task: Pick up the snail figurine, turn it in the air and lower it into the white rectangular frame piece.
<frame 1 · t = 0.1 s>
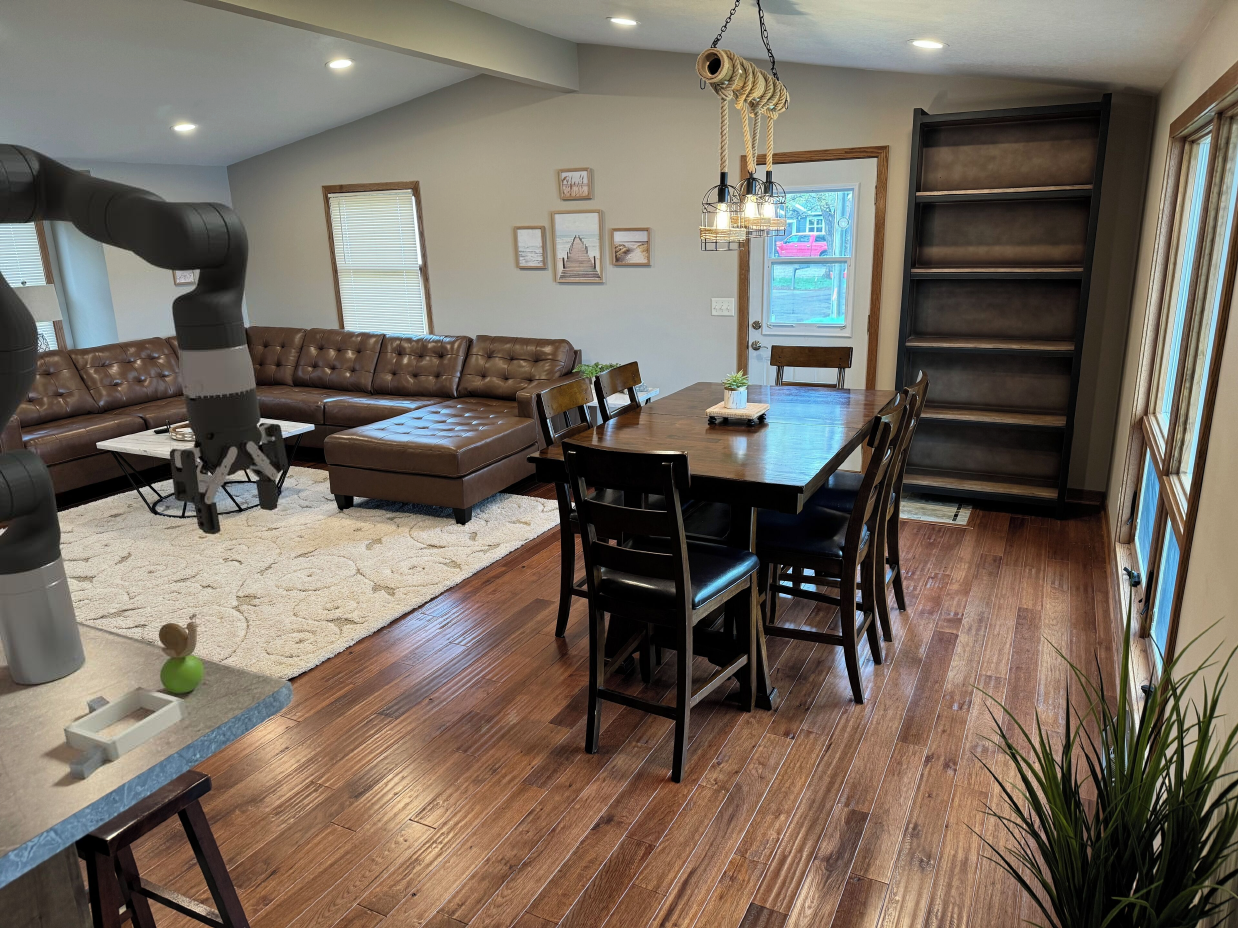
hand: (241, 520, 101), 29 cm above the breakfast bar, tool pointing down, fingers open, 8 cm apart
white rectangular frame piece: (128, 730, 111), on the breakfast bar
snail figurine: (188, 691, 120), on the breakfast bar
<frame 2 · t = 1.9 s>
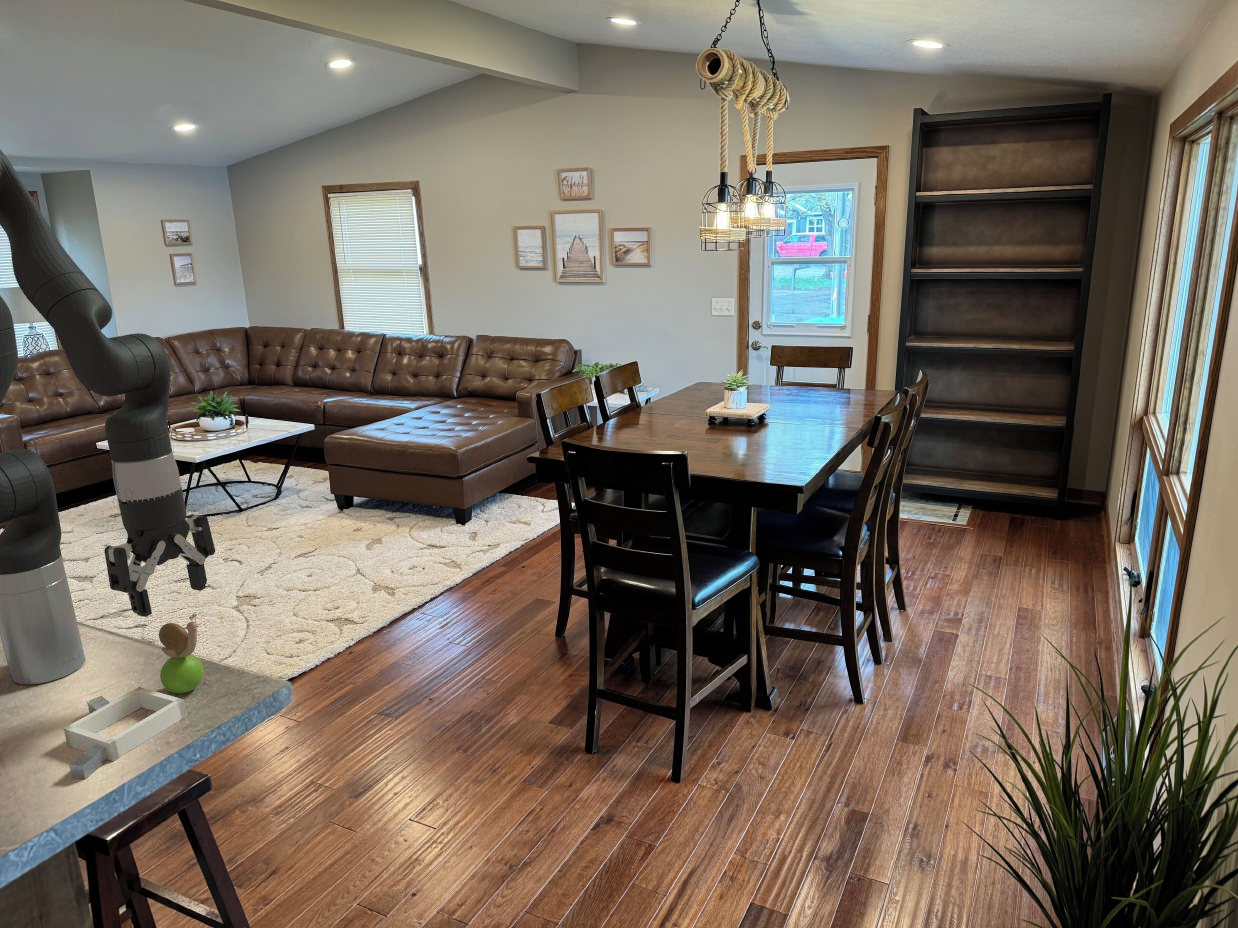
hand: (172, 601, 116), 14 cm above the breakfast bar, tool pointing down, fingers open, 8 cm apart
nothing on the breakfast bar moved.
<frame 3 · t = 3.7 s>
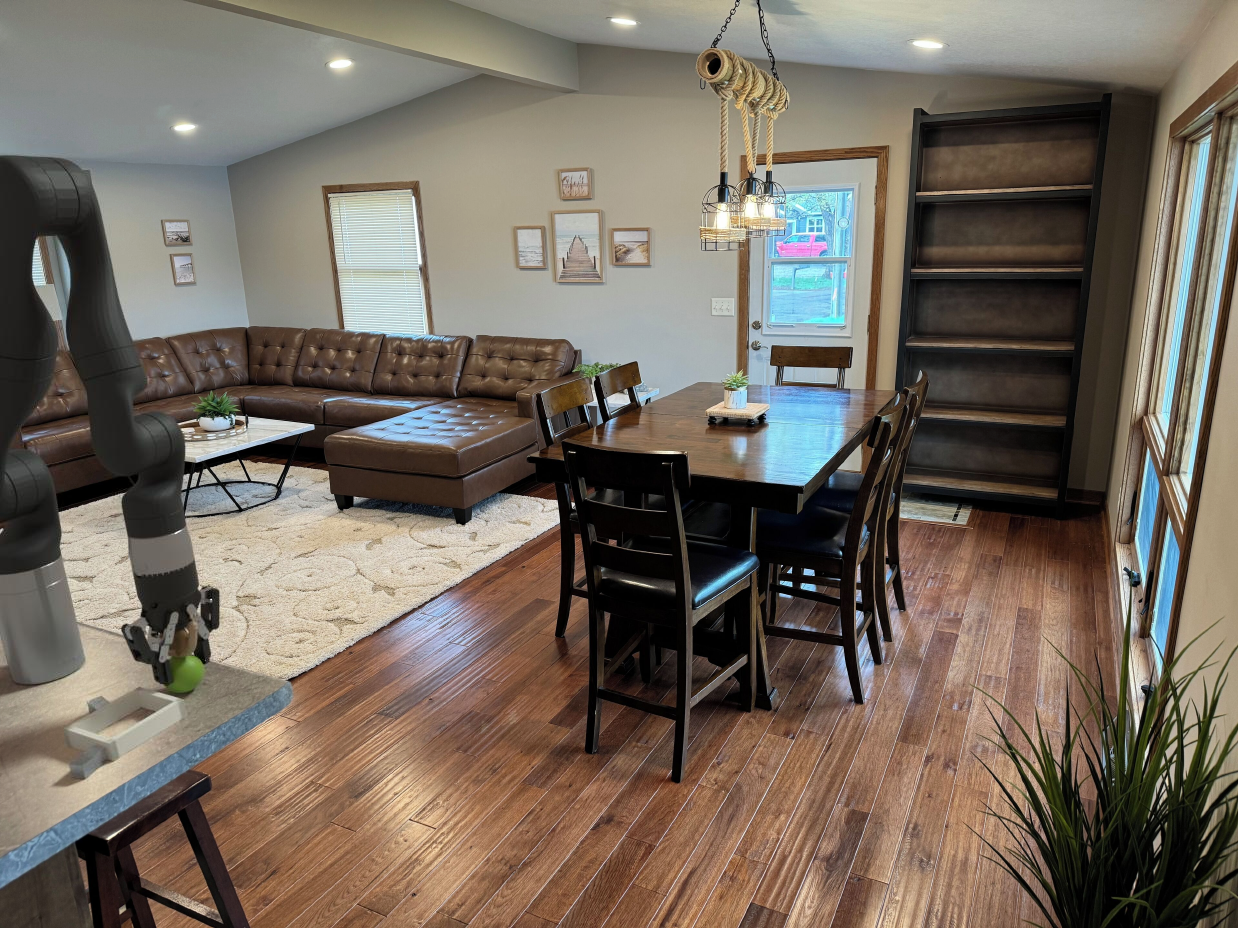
hand: (184, 672, 119), 3 cm above the breakfast bar, tool pointing down, fingers closed on snail figurine, 5 cm apart
snail figurine: (189, 691, 120), on the breakfast bar, touching gripper
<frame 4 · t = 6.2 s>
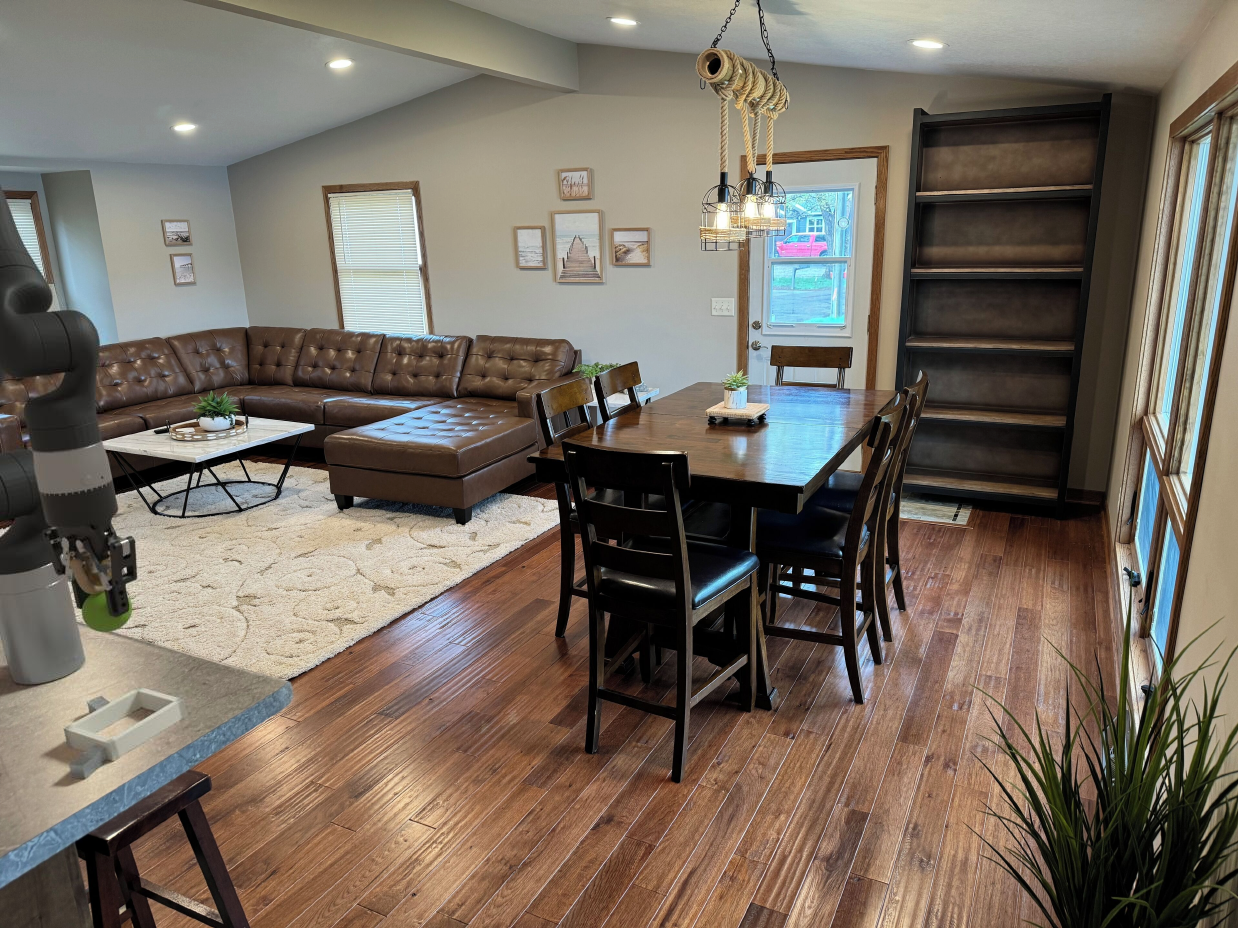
hand: (103, 609, 106), 17 cm above the breakfast bar, tool pointing down, fingers closed on snail figurine, 5 cm apart
snail figurine: (108, 632, 107), point 14 cm above the breakfast bar, touching gripper
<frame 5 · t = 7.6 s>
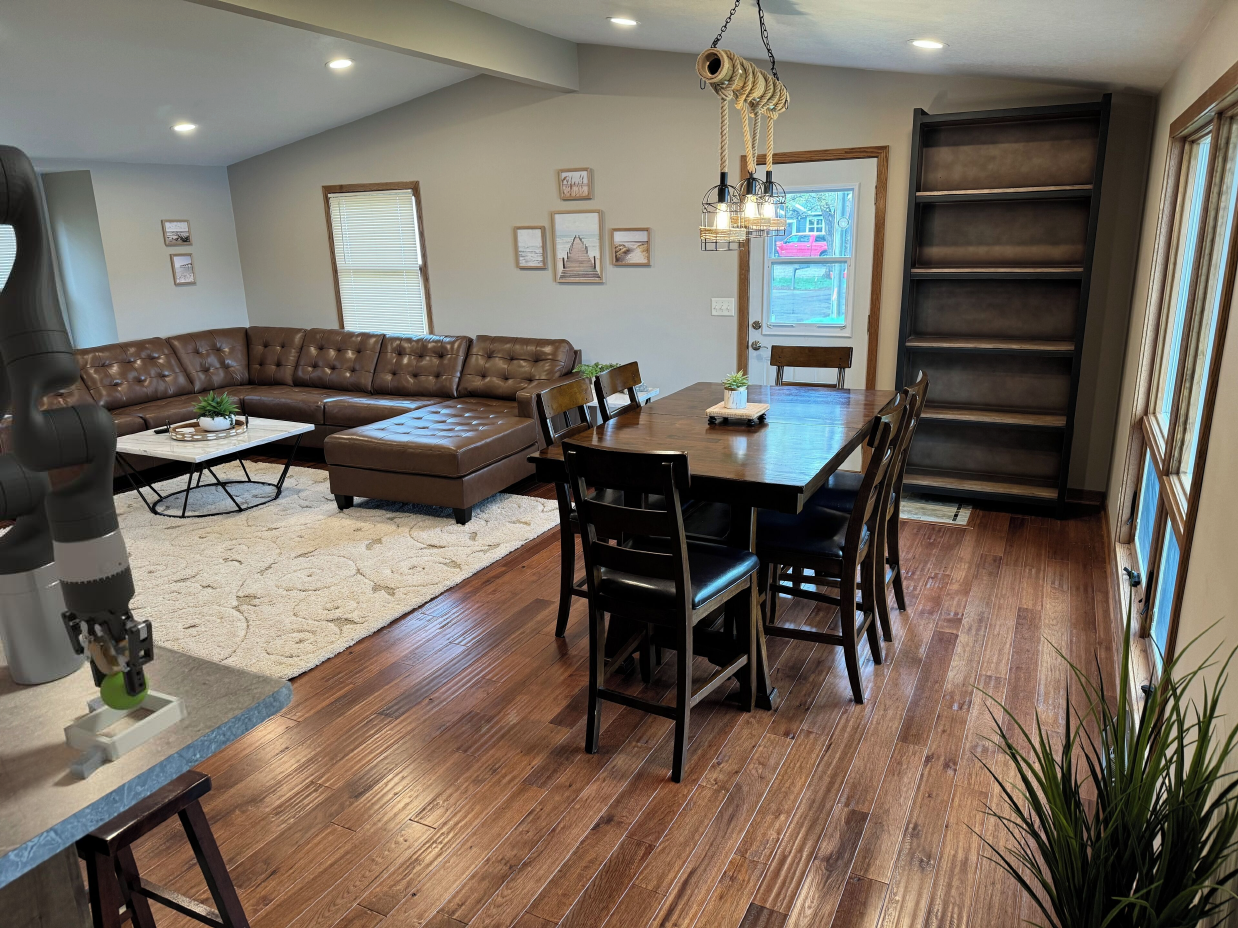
hand: (120, 688, 109), 6 cm above the breakfast bar, tool pointing down, fingers closed on snail figurine, 5 cm apart
snail figurine: (126, 710, 110), point 3 cm above the breakfast bar, touching gripper
when the fingers open (4 cm above the breakfast bar, at t = 8.8 s): snail figurine drops 1 cm, resting in white rectangular frame piece.
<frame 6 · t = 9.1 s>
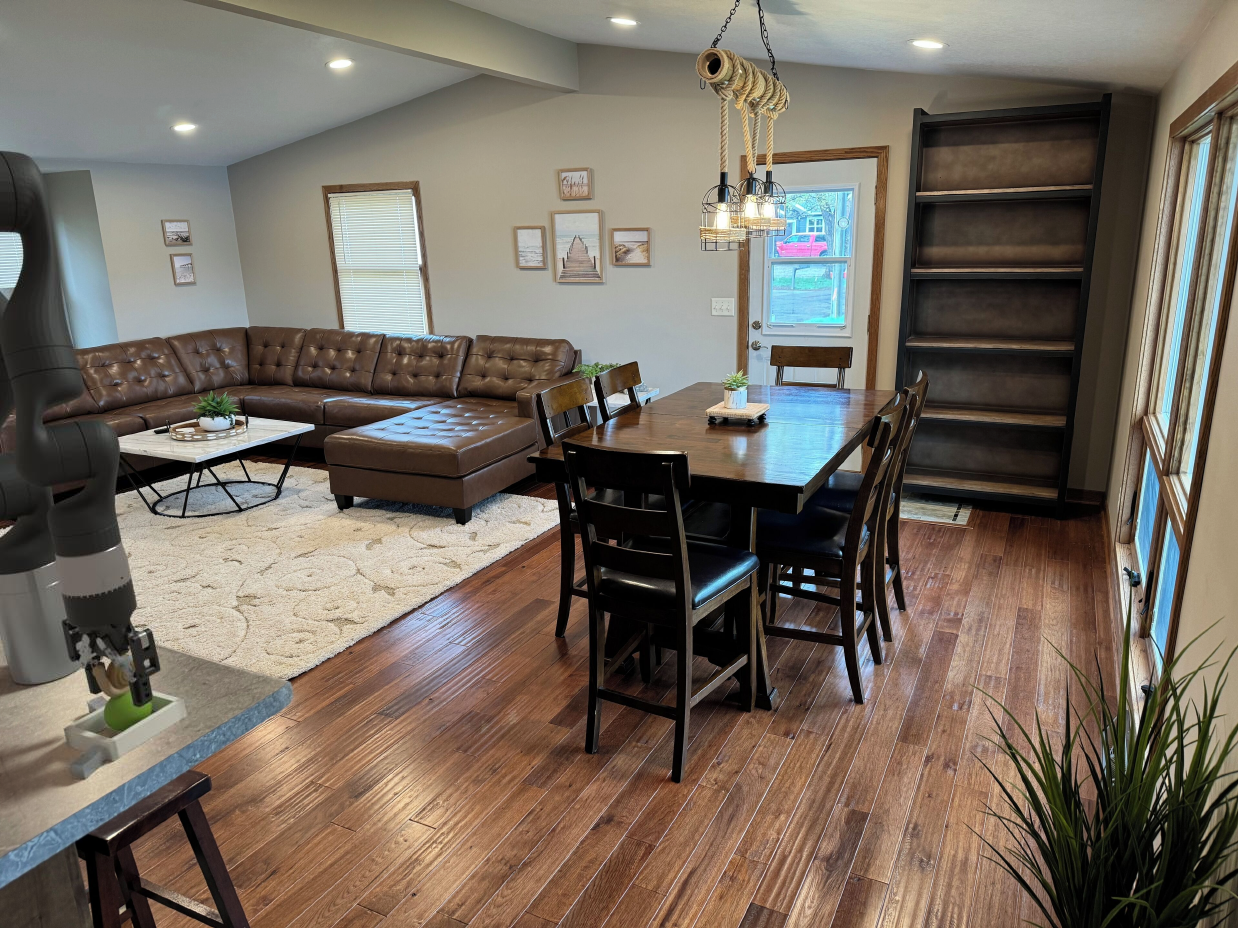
hand: (121, 697, 109), 5 cm above the breakfast bar, tool pointing down, fingers open, 8 cm apart
snail figurine: (129, 731, 111), resting in white rectangular frame piece
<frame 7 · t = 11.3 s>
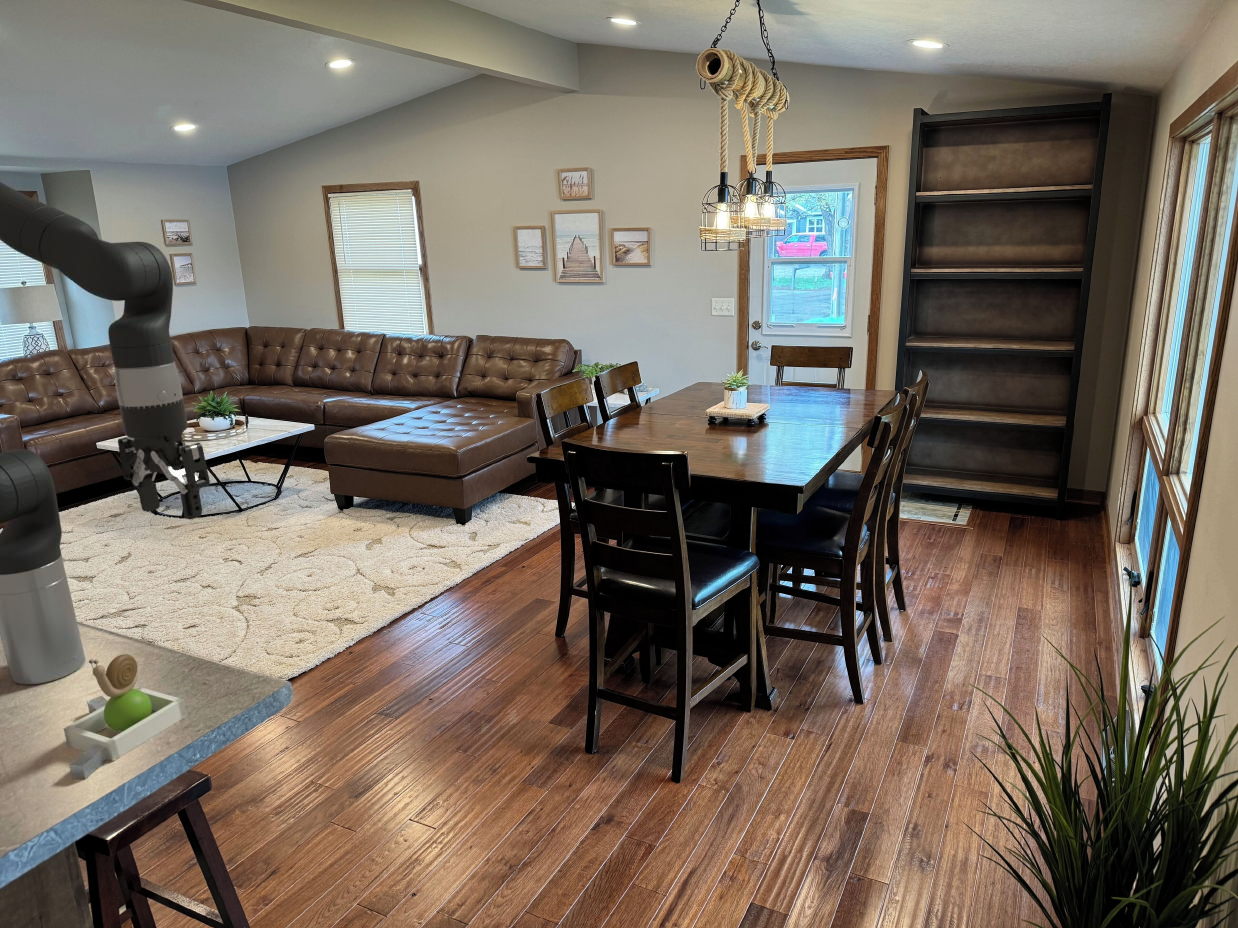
hand: (172, 513, 117), 25 cm above the breakfast bar, tool pointing down, fingers open, 8 cm apart
nothing on the breakfast bar moved.
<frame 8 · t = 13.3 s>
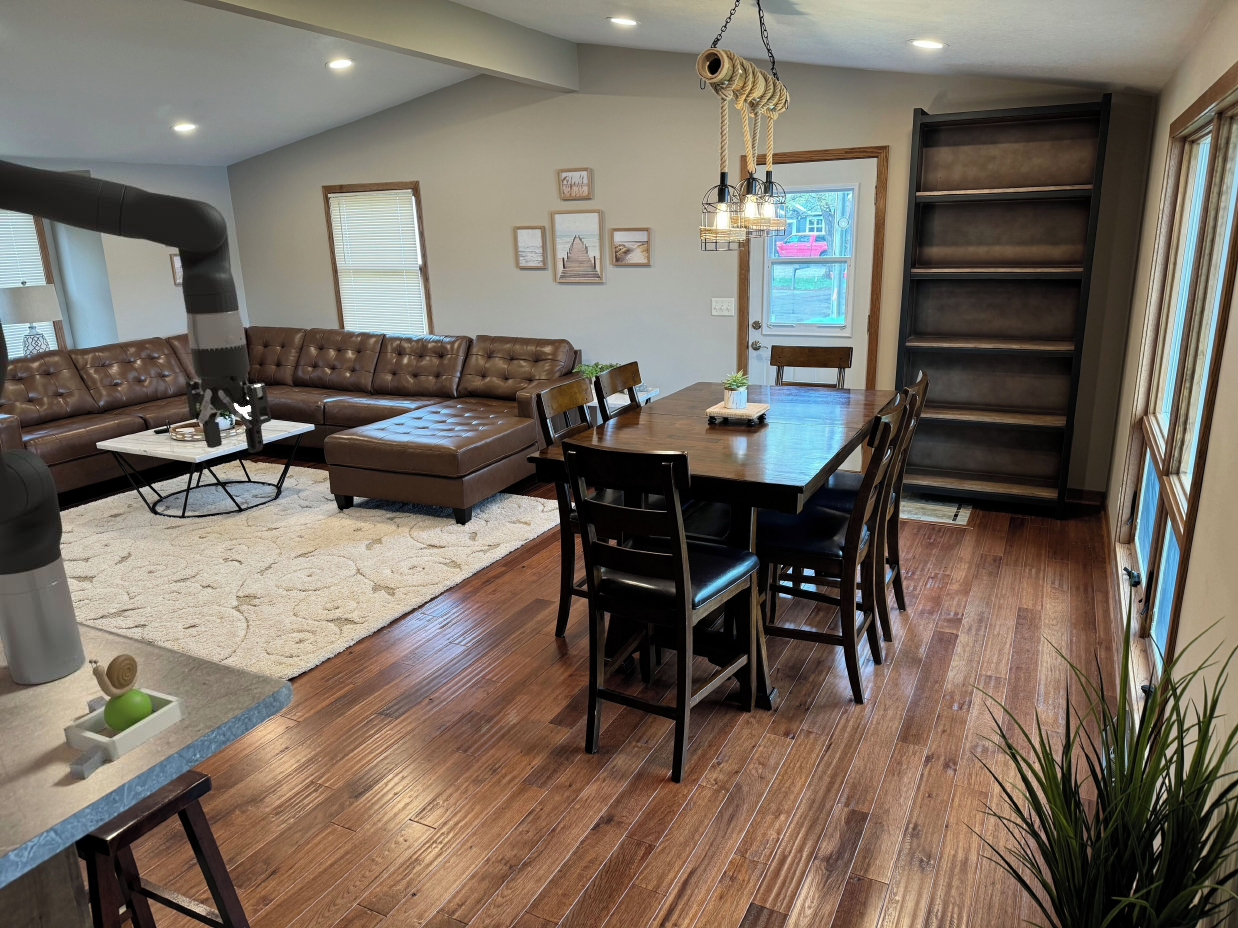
hand: (235, 448, 130), 30 cm above the breakfast bar, tool pointing down, fingers open, 8 cm apart
nothing on the breakfast bar moved.
at the end: snail figurine 0.1 cm off-centre on the white rectangular frame piece, point 0.0 cm above the white rectangular frame piece's base; snail figurine tilted 0°; the gripper is holding nothing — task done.
